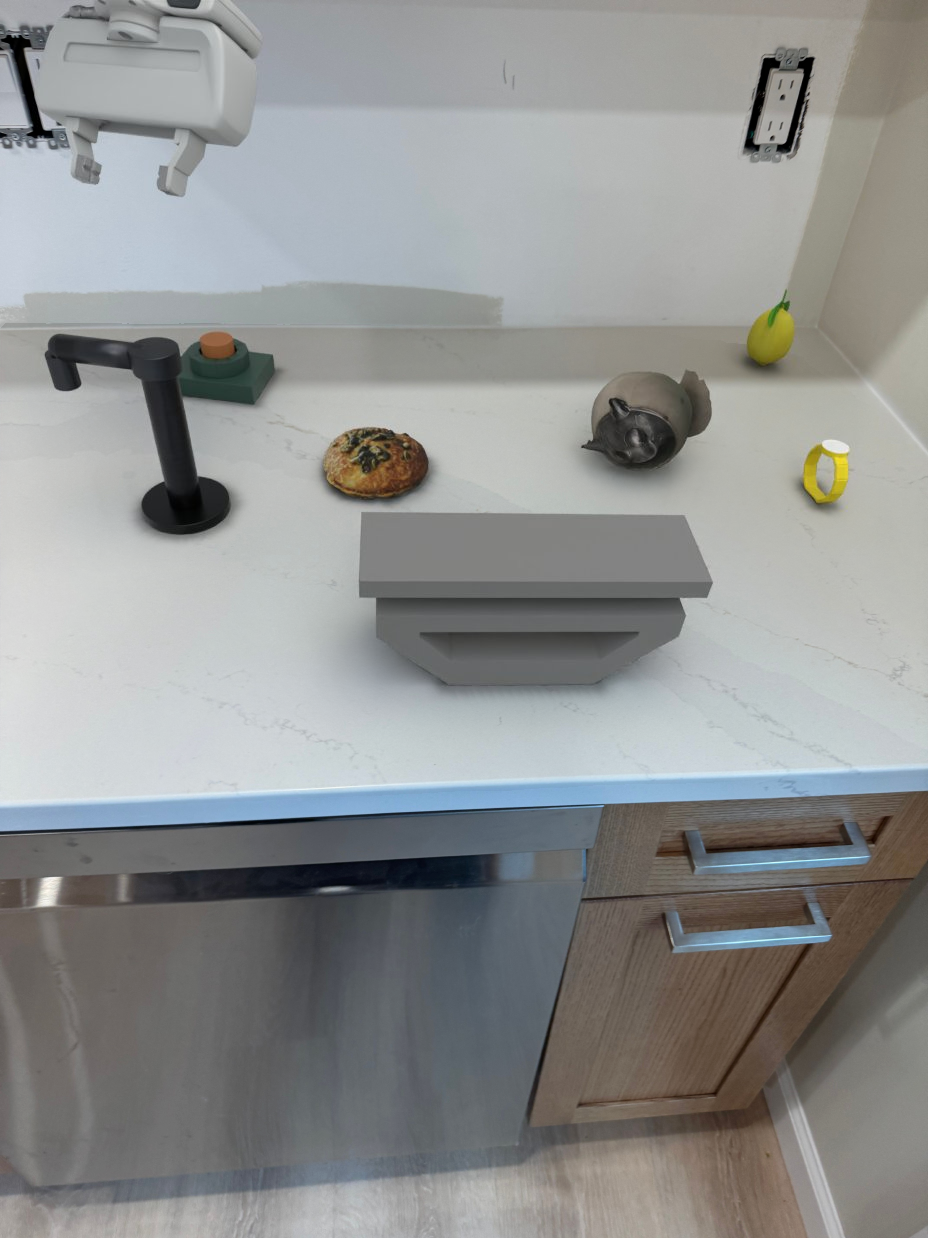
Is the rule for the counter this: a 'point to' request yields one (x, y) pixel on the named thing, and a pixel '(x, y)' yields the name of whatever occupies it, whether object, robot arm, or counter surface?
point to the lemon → (771, 334)
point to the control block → (225, 374)
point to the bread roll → (375, 463)
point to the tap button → (217, 345)
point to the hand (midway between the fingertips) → (126, 187)
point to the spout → (111, 358)
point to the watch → (839, 455)
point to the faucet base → (189, 516)
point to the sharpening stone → (528, 591)
